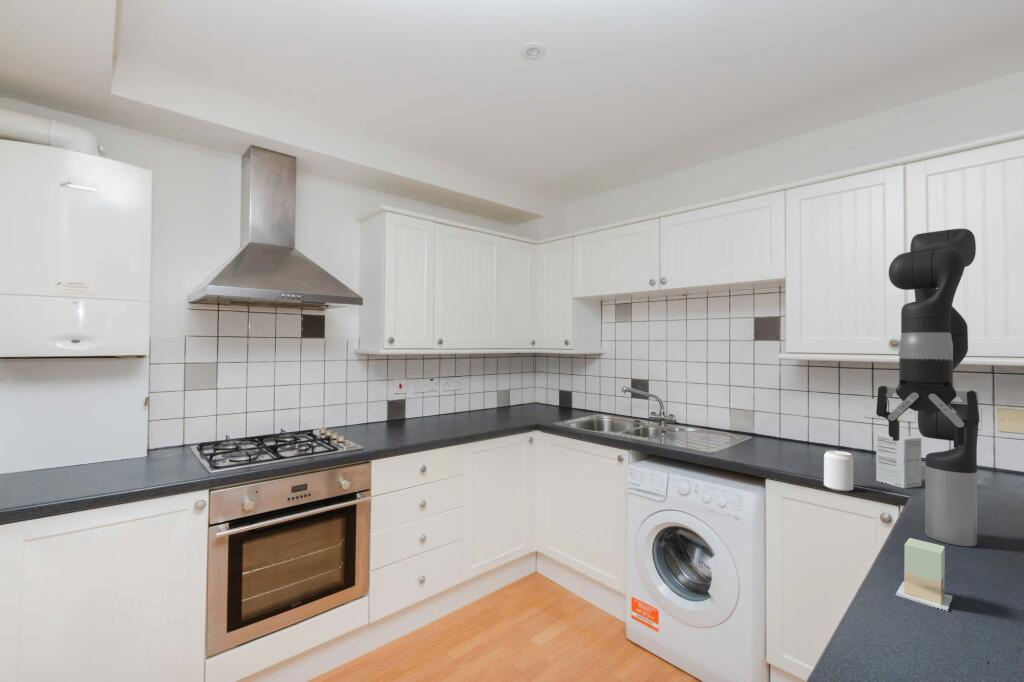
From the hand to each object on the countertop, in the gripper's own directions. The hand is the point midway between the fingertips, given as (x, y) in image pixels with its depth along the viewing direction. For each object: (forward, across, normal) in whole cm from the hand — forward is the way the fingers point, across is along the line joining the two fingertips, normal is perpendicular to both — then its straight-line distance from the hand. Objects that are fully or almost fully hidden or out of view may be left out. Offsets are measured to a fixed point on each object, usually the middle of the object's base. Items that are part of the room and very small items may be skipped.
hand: (925, 443), depth 87 cm
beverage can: (+28, +30, -71) cm, 82 cm away
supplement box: (+28, +18, -96) cm, 102 cm away
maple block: (+28, 0, +1) cm, 28 cm away
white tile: (+28, 0, +1) cm, 28 cm away
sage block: (+24, 0, +1) cm, 24 cm away
